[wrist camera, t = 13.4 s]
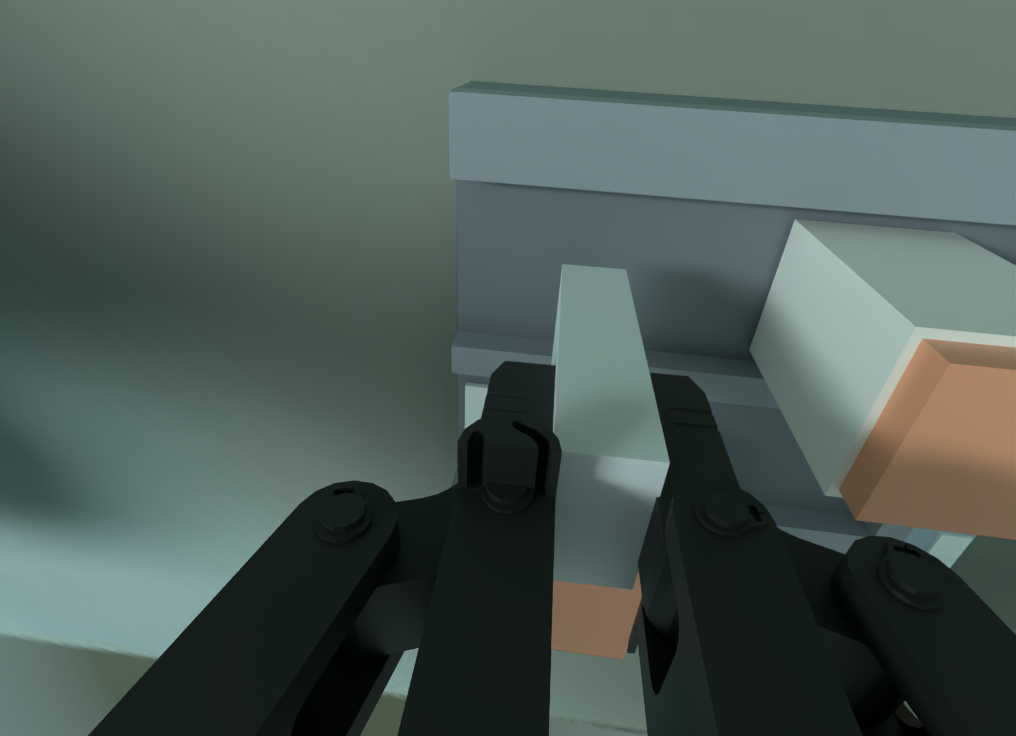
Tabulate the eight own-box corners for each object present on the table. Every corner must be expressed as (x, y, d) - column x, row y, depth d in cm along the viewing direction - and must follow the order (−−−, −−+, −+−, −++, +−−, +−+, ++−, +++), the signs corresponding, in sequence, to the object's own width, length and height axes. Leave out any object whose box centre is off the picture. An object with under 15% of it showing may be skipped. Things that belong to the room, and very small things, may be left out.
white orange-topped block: (749, 349, 16) (840, 525, 10) (794, 219, 14) (942, 351, 8) (886, 363, 16) (1058, 552, 10) (955, 232, 14) (1225, 379, 8)
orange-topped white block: (509, 466, 20) (479, 642, 14) (515, 378, 18) (482, 544, 12) (616, 480, 19) (630, 664, 14) (635, 392, 17) (661, 569, 12)
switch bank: (465, 556, 26) (452, 615, 24) (471, 81, 15) (447, 92, 12) (795, 600, 25) (820, 668, 23) (1073, 122, 14) (1192, 144, 11)
